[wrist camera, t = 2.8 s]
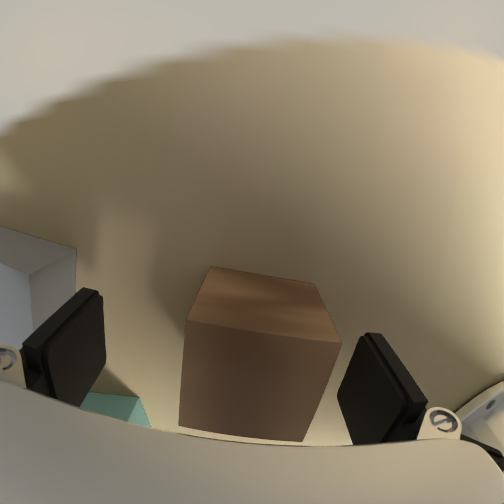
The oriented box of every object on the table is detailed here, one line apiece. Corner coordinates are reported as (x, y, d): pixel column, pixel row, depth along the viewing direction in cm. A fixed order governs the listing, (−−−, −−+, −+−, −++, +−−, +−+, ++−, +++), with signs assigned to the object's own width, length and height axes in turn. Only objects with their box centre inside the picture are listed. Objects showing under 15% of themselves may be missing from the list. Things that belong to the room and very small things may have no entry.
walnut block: (313, 283, 13) (342, 343, 8) (290, 366, 14) (302, 441, 10) (210, 265, 13) (186, 319, 8) (199, 352, 14) (178, 425, 10)
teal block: (139, 396, 15) (110, 460, 10) (159, 445, 16) (141, 505, 12) (76, 389, 15) (39, 441, 11) (101, 437, 17) (75, 488, 12)
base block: (78, 248, 13) (29, 274, 9) (79, 349, 15) (43, 390, 11) (0, 224, 13) (-49, 241, 9) (5, 317, 14) (-33, 345, 11)
